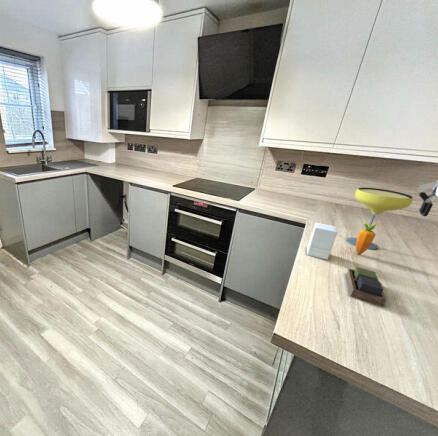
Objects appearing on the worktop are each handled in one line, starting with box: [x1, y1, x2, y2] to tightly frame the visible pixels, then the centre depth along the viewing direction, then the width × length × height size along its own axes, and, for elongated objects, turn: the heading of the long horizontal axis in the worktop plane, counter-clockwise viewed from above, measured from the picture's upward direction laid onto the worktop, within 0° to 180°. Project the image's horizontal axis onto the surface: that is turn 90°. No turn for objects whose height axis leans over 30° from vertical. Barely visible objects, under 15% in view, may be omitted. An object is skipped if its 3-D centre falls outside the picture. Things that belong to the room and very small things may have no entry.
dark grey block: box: [356, 276, 384, 296], centre depth 75 cm, size 5×5×4 cm
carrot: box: [355, 222, 378, 255], centre depth 98 cm, size 5×5×15 cm
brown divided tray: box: [346, 268, 387, 307], centre depth 78 cm, size 8×15×3 cm, turn 146°
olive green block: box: [353, 266, 379, 281], centre depth 80 cm, size 5×5×4 cm
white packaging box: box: [306, 222, 338, 260], centre depth 98 cm, size 7×7×13 cm
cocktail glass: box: [347, 187, 414, 250], centre depth 106 cm, size 18×18×25 cm
